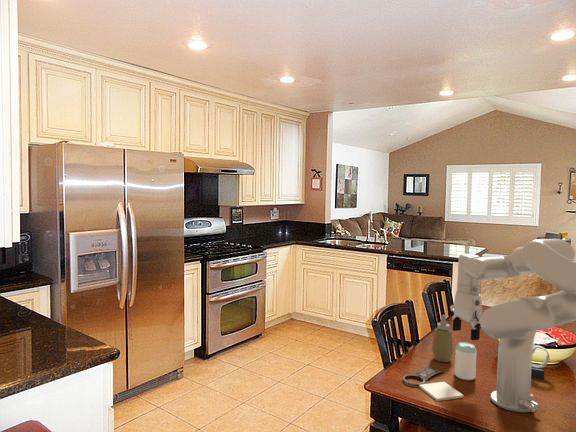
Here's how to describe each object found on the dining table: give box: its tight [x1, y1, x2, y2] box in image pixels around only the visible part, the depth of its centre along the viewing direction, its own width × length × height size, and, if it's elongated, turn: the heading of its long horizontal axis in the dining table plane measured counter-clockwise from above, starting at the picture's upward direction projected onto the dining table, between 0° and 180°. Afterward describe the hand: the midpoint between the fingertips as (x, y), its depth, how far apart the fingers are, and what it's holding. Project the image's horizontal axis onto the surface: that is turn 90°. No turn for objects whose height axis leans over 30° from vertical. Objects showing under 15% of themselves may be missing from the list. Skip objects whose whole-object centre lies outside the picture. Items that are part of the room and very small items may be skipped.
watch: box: [531, 344, 551, 380], centre depth 156 cm, size 6×8×11 cm
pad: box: [418, 381, 464, 402], centre depth 142 cm, size 10×10×1 cm
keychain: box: [402, 366, 444, 388], centre depth 153 cm, size 8×19×2 cm, turn 130°
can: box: [454, 341, 478, 381], centre depth 153 cm, size 7×7×12 cm
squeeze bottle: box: [431, 314, 454, 363], centre depth 169 cm, size 8×8×18 cm
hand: (465, 334), depth 153 cm, fingers open, 9 cm apart
